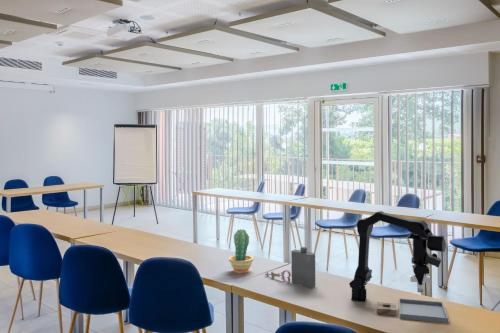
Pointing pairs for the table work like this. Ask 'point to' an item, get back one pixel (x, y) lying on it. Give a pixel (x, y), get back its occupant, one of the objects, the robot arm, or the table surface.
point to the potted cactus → (241, 253)
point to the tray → (422, 310)
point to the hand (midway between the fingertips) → (420, 283)
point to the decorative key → (280, 275)
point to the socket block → (386, 308)
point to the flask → (303, 267)
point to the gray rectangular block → (419, 287)
